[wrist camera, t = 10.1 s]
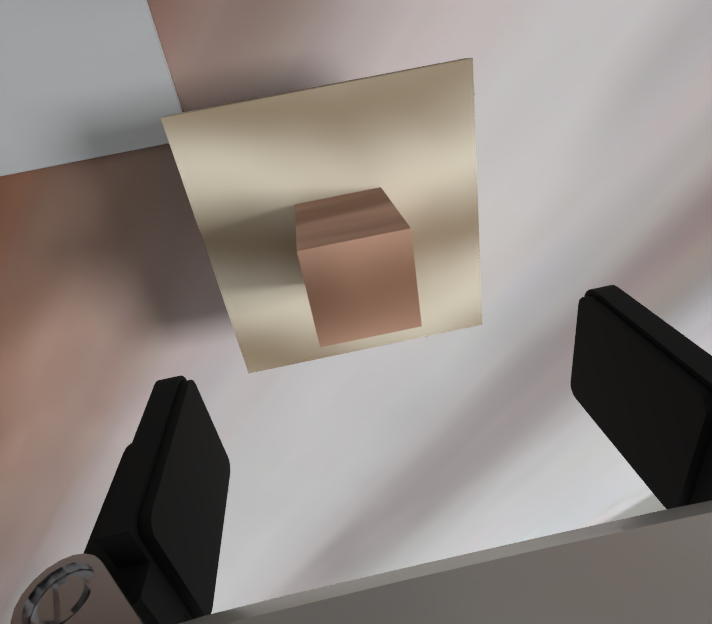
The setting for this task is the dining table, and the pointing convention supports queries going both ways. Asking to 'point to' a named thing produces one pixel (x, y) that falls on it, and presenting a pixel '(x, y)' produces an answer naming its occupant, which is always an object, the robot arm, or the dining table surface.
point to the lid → (339, 211)
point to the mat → (79, 81)
